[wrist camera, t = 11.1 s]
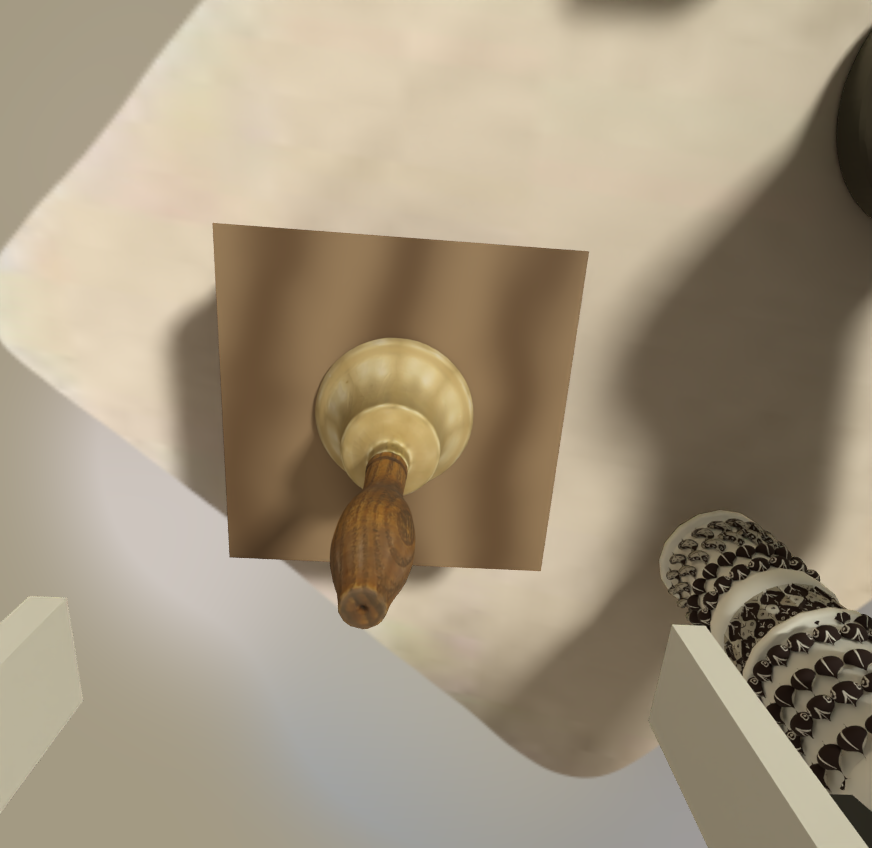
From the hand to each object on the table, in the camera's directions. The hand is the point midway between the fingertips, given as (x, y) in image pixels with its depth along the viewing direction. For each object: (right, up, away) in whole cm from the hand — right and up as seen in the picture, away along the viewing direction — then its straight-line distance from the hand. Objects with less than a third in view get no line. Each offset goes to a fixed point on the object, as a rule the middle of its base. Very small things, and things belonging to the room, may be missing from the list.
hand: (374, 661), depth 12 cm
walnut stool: (-1, +8, +26) cm, 27 cm away
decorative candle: (+23, -5, +31) cm, 39 cm away
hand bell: (-1, +6, +17) cm, 18 cm away
